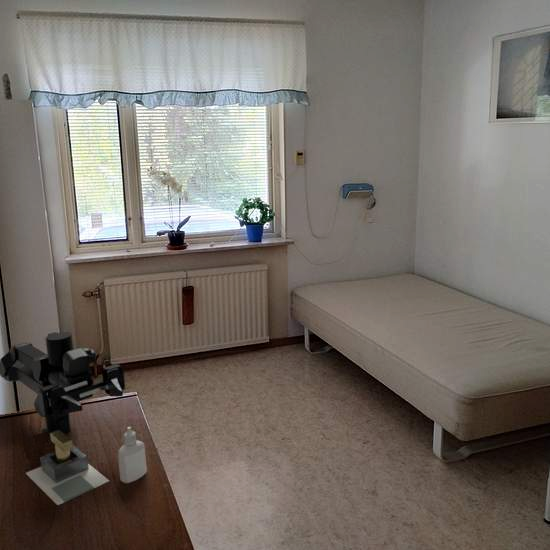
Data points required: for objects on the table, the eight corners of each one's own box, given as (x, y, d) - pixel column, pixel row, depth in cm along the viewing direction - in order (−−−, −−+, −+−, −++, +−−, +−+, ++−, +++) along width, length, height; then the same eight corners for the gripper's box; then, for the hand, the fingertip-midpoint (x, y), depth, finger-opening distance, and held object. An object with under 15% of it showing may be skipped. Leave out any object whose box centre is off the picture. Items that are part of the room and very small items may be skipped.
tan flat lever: (52, 466, 121) (48, 433, 120) (65, 461, 123) (60, 429, 122) (65, 478, 117) (61, 444, 115) (78, 472, 119) (74, 439, 117)
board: (26, 477, 120) (25, 473, 119) (75, 456, 127) (74, 452, 127) (58, 509, 108) (57, 505, 108) (110, 485, 116) (109, 480, 116)
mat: (52, 489, 113) (51, 487, 113) (80, 476, 117) (80, 475, 117) (65, 501, 109) (64, 500, 109) (93, 488, 113) (93, 486, 113)
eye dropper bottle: (149, 481, 116) (144, 429, 114) (121, 488, 114) (116, 435, 112) (145, 471, 120) (141, 420, 118) (119, 477, 118) (113, 425, 116)
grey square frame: (41, 469, 120) (39, 457, 120) (73, 456, 125) (72, 444, 124) (55, 483, 115) (54, 470, 115) (88, 468, 120) (87, 456, 119)
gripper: (23, 358, 120) (54, 378, 109) (103, 336, 132) (138, 352, 121) (29, 406, 122) (60, 430, 111) (107, 380, 135) (142, 399, 124)
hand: (102, 400), depth 117 cm, fingers open, 9 cm apart
